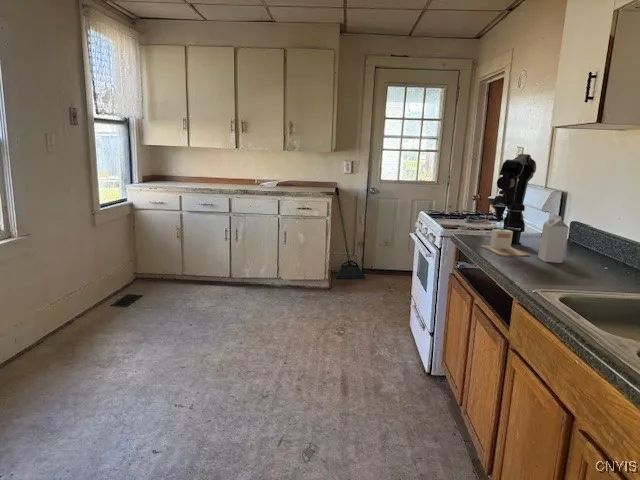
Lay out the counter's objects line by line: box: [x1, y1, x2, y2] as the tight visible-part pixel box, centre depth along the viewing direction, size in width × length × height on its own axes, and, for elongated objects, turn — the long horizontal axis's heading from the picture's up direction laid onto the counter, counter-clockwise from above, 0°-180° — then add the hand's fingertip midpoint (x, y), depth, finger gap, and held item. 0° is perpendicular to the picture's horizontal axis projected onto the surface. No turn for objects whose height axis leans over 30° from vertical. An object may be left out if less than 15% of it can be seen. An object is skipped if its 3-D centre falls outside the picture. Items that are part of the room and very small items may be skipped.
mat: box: [480, 244, 531, 257], centre depth 193 cm, size 14×16×1 cm
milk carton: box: [537, 213, 570, 264], centre depth 179 cm, size 7×7×19 cm
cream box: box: [489, 229, 513, 249], centre depth 195 cm, size 8×4×8 cm, turn 98°
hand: (503, 223), depth 194 cm, fingers open, 9 cm apart
